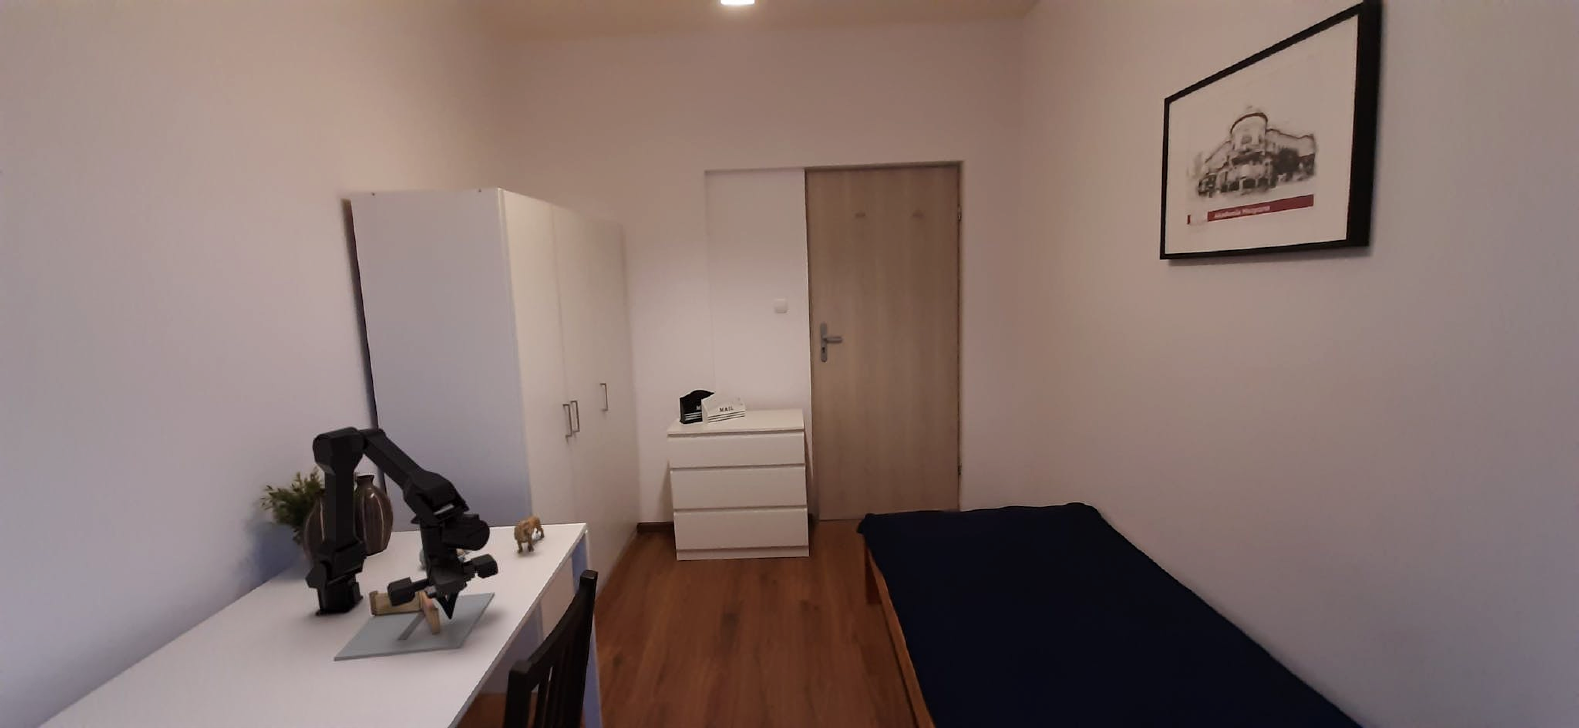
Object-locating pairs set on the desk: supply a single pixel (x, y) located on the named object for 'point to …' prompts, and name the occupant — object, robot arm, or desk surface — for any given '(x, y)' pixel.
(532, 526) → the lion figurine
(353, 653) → the card
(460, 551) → the stuffed animal
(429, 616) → the fence panel
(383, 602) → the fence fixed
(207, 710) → the desk surface
